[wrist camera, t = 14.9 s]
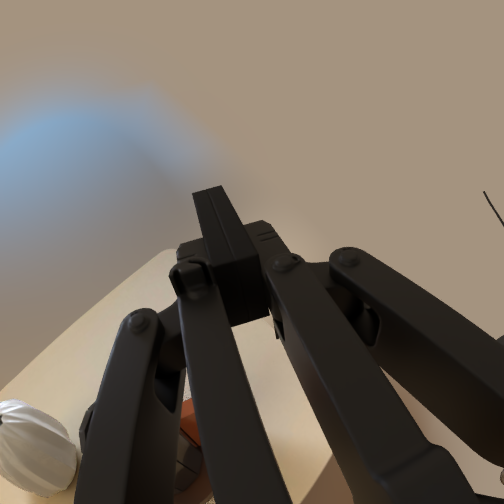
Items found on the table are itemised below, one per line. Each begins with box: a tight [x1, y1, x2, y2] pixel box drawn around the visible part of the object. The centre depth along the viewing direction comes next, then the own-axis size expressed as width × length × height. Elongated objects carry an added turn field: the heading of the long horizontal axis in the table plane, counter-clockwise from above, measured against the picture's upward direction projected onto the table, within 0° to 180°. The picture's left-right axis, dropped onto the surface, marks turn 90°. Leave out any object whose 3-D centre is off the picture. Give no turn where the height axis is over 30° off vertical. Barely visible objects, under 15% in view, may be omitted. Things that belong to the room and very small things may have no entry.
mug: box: [79, 398, 203, 495], centre depth 26 cm, size 12×15×10 cm
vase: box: [0, 399, 77, 498], centre depth 24 cm, size 14×14×13 cm
